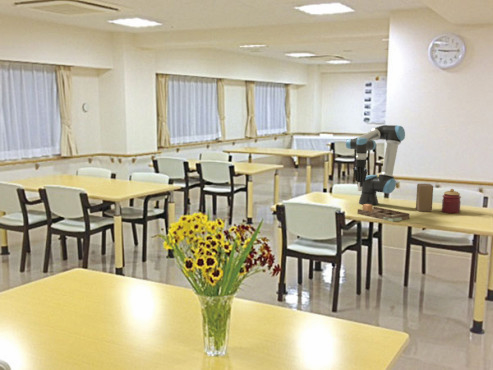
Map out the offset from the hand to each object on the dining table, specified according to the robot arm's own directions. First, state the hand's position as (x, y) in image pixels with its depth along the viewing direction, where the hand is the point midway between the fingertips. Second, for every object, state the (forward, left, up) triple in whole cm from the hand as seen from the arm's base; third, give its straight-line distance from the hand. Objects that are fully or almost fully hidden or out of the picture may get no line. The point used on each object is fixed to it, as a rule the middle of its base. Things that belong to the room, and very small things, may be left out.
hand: (359, 190), depth 391 cm
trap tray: (+19, +4, -16) cm, 25 cm away
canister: (+38, +58, -16) cm, 71 cm away
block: (+23, +46, -16) cm, 54 cm away
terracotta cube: (+8, 0, -14) cm, 16 cm away
